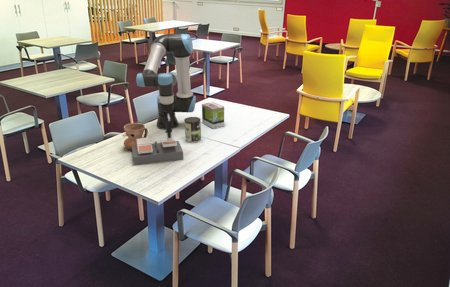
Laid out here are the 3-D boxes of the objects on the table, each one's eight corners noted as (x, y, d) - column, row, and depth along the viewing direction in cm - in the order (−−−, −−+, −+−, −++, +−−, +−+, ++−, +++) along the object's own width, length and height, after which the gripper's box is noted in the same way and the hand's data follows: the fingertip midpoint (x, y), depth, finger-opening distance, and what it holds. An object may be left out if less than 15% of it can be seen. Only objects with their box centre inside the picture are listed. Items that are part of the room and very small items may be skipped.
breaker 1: (136, 141, 217) (136, 138, 216) (150, 139, 219) (150, 136, 218) (137, 154, 206) (137, 151, 205) (153, 152, 208) (152, 149, 207)
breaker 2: (160, 142, 221) (160, 139, 221) (174, 141, 223) (174, 138, 223) (162, 147, 208) (162, 144, 208) (177, 145, 210) (177, 142, 210)
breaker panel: (132, 153, 221) (131, 142, 218) (179, 148, 227) (178, 137, 225) (134, 165, 207) (132, 154, 204) (183, 159, 213) (182, 148, 210)
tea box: (224, 126, 262) (224, 106, 256) (212, 129, 256) (212, 109, 250) (213, 120, 273) (213, 101, 267) (201, 123, 268) (201, 103, 262)
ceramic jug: (131, 155, 219) (129, 133, 213) (117, 148, 227) (115, 126, 222) (155, 146, 231) (154, 125, 225) (141, 140, 240) (140, 119, 234)
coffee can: (202, 137, 243) (202, 117, 238) (198, 143, 234) (198, 122, 229) (187, 136, 245) (187, 116, 240) (183, 142, 236) (182, 121, 230)
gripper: (158, 99, 205) (161, 138, 215) (161, 106, 194) (164, 147, 203) (172, 98, 207) (174, 137, 216) (175, 105, 196) (177, 145, 205)
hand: (169, 142), depth 210 cm, fingers closed
